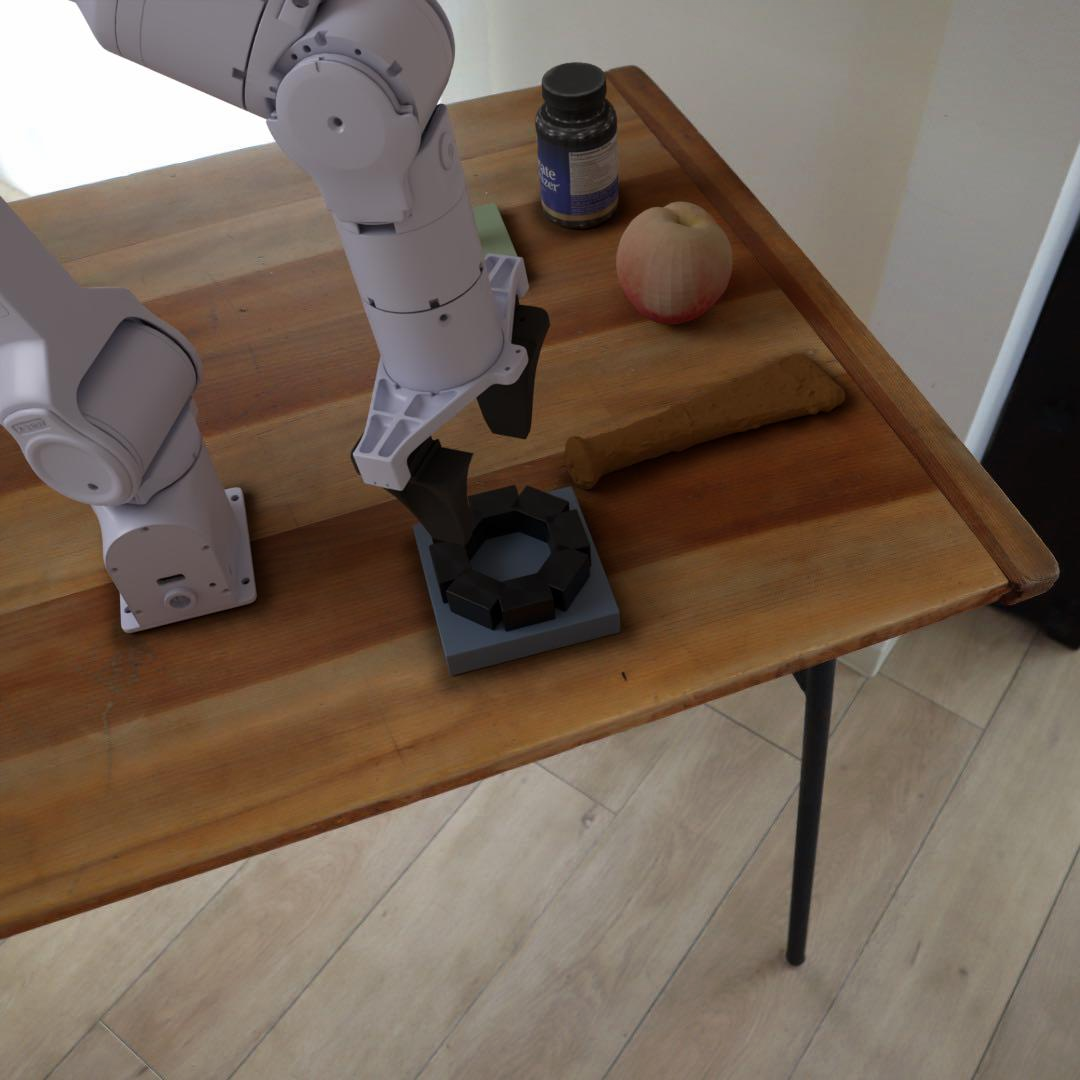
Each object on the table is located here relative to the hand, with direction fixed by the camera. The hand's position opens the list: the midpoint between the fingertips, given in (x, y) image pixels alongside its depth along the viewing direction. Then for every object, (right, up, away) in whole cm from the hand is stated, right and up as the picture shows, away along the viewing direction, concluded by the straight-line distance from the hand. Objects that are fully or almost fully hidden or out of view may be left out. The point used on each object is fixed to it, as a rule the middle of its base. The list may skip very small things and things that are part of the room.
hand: (482, 482), depth 62 cm
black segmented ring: (+1, -5, +6) cm, 8 cm away
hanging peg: (-4, +18, +28) cm, 34 cm away
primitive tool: (+14, +4, +15) cm, 21 cm away
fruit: (+13, +14, +23) cm, 30 cm away
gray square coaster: (+2, -6, +8) cm, 10 cm away
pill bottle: (+6, +23, +32) cm, 40 cm away
